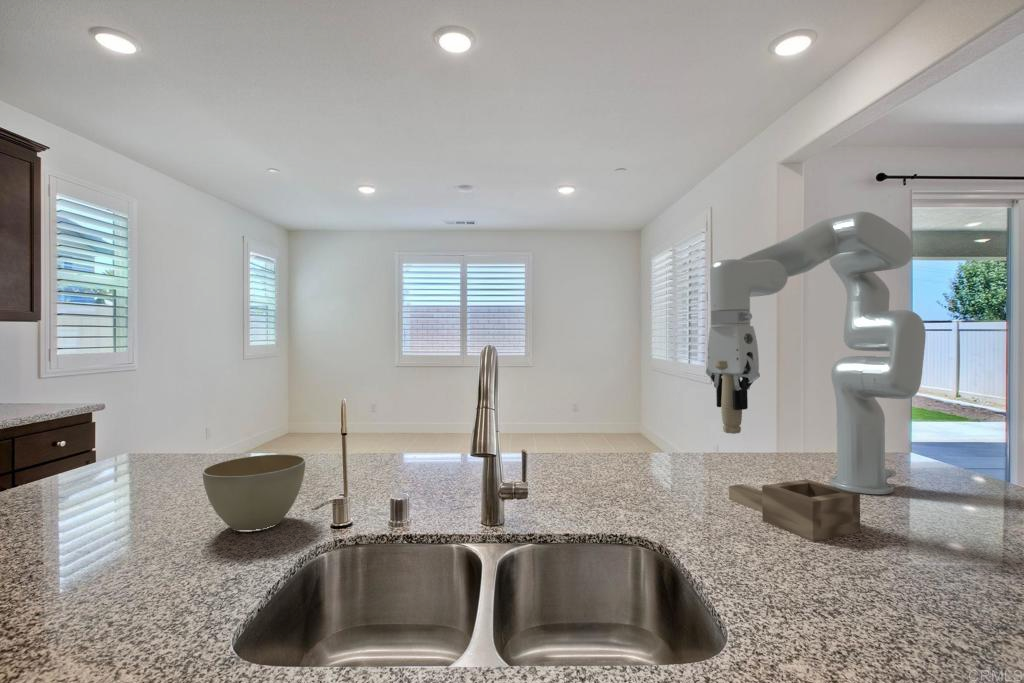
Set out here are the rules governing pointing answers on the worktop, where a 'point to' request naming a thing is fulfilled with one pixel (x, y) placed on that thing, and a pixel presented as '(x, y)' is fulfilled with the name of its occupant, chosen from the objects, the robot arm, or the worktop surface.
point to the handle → (728, 402)
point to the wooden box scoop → (803, 507)
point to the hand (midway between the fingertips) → (731, 407)
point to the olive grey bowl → (254, 489)
